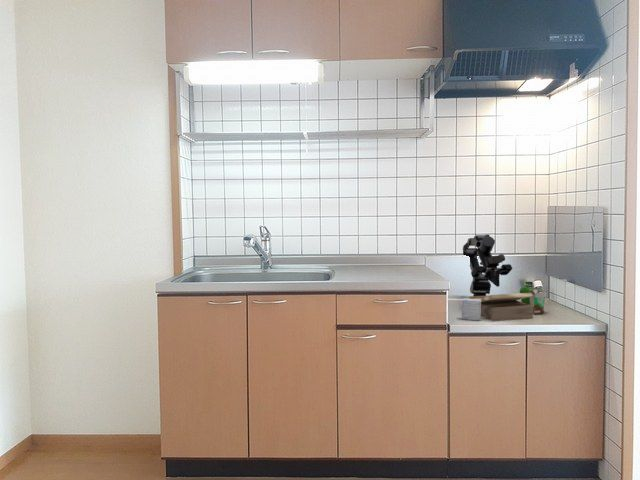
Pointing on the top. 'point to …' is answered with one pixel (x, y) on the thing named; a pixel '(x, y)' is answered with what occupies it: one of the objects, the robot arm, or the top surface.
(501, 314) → the floor platform
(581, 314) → the top surface
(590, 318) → the top surface
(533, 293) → the food container
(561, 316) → the top surface
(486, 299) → the pale plank
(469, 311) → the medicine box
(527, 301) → the bell pepper
